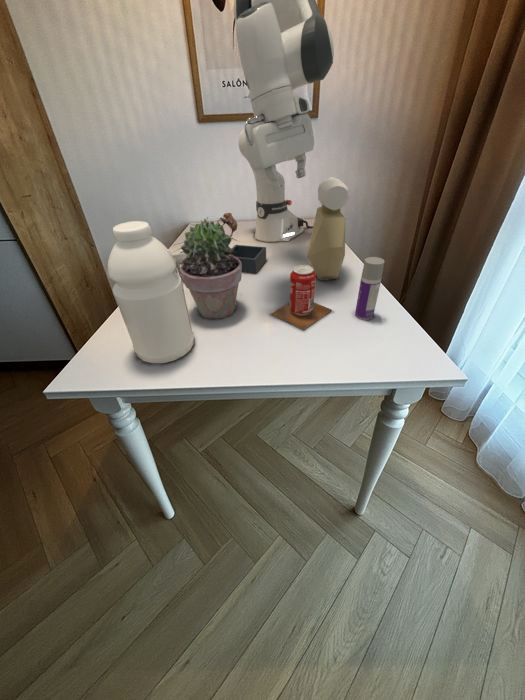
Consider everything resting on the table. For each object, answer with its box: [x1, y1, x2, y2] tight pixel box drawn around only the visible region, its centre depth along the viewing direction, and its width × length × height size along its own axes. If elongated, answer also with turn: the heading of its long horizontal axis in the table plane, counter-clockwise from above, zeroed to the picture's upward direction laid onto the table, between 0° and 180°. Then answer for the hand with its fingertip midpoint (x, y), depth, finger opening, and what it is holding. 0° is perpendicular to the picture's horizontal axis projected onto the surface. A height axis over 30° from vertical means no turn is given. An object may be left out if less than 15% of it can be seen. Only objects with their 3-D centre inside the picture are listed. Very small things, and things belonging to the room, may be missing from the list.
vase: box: [306, 176, 349, 281], centre depth 94 cm, size 12×24×28 cm, turn 1°
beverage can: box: [289, 264, 317, 316], centre depth 80 cm, size 6×6×12 cm
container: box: [354, 256, 386, 321], centre depth 77 cm, size 5×5×15 cm
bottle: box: [106, 220, 195, 364], centre depth 66 cm, size 14×14×28 cm
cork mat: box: [271, 302, 332, 331], centre depth 84 cm, size 12×11×1 cm
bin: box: [229, 244, 267, 275], centre depth 109 cm, size 12×12×5 cm
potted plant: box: [171, 212, 245, 320], centre depth 79 cm, size 18×20×25 cm
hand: (290, 182), depth 73 cm, fingers open, 8 cm apart
